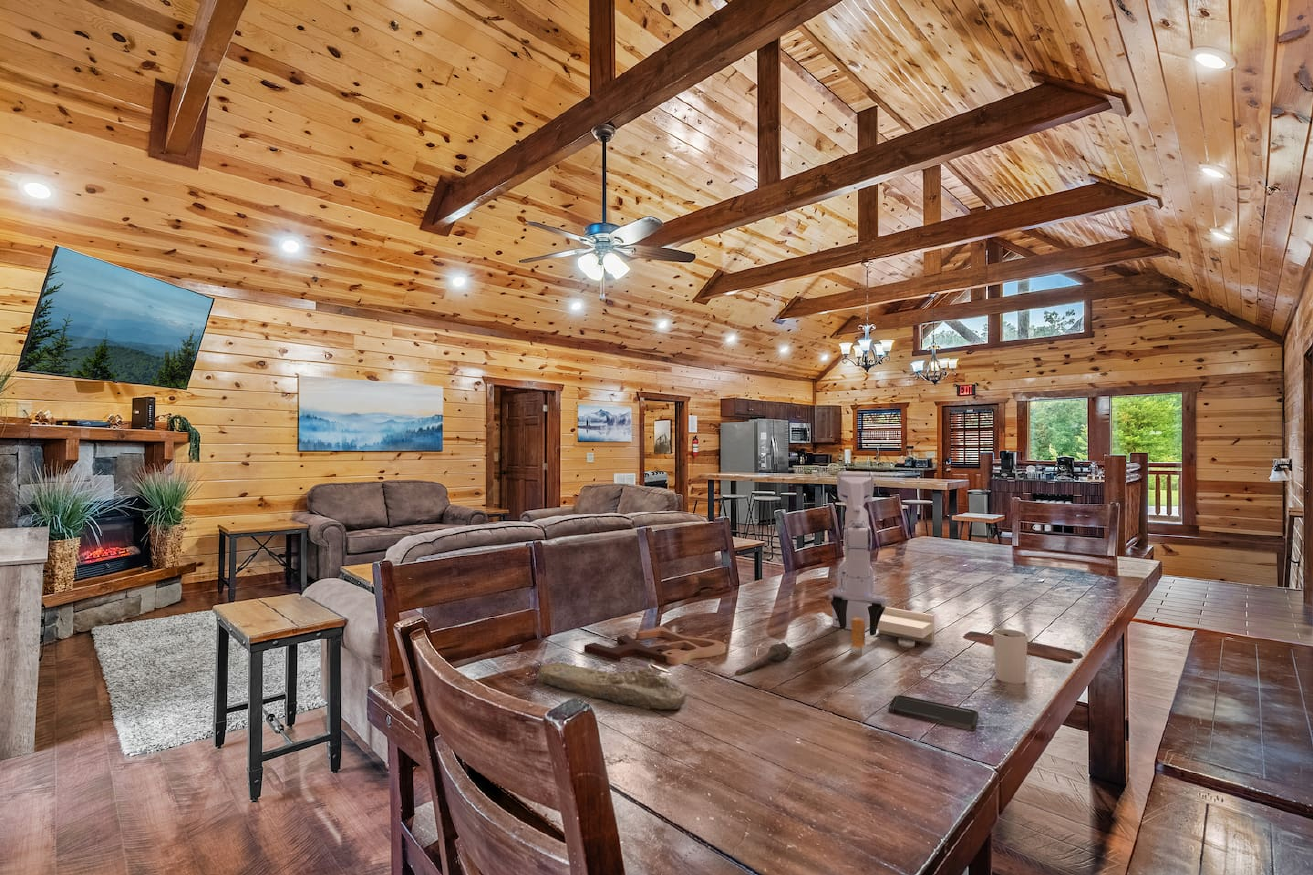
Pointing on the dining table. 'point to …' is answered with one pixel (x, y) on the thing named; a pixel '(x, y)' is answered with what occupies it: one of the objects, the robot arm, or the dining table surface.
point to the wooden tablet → (1030, 648)
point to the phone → (934, 712)
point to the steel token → (906, 642)
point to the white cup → (1010, 655)
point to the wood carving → (659, 647)
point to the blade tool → (861, 638)
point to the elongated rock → (616, 685)
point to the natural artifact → (769, 657)
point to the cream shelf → (906, 624)
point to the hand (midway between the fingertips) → (857, 631)
